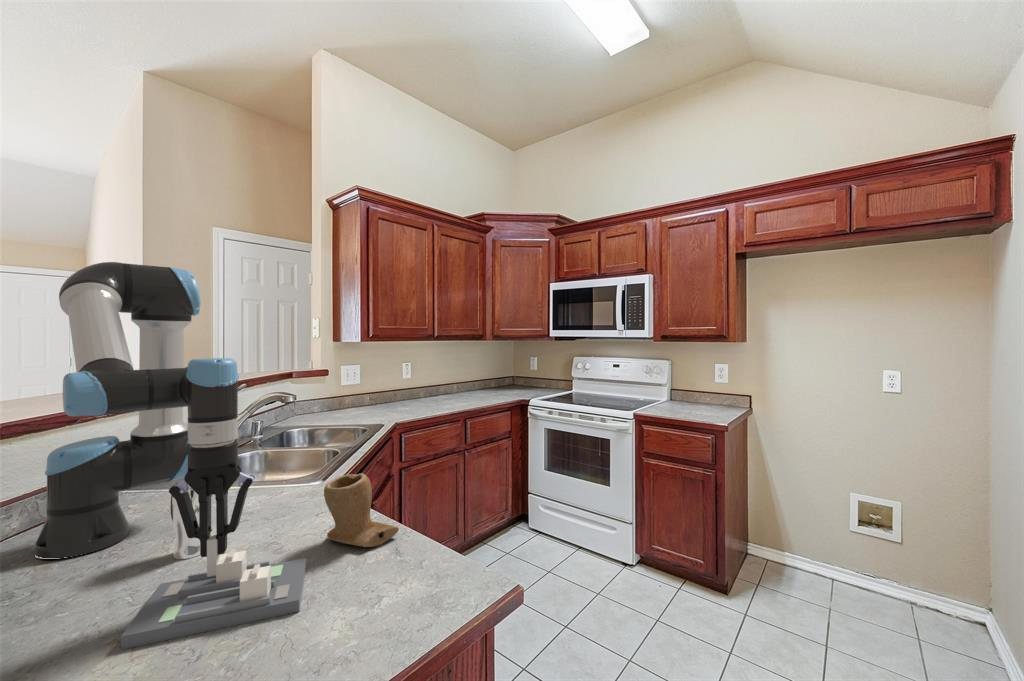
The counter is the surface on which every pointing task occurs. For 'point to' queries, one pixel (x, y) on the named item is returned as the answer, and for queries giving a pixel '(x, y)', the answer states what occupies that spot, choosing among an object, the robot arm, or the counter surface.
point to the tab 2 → (255, 583)
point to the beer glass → (183, 544)
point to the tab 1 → (231, 566)
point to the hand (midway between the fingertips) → (214, 572)
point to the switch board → (213, 604)
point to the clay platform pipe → (354, 512)
